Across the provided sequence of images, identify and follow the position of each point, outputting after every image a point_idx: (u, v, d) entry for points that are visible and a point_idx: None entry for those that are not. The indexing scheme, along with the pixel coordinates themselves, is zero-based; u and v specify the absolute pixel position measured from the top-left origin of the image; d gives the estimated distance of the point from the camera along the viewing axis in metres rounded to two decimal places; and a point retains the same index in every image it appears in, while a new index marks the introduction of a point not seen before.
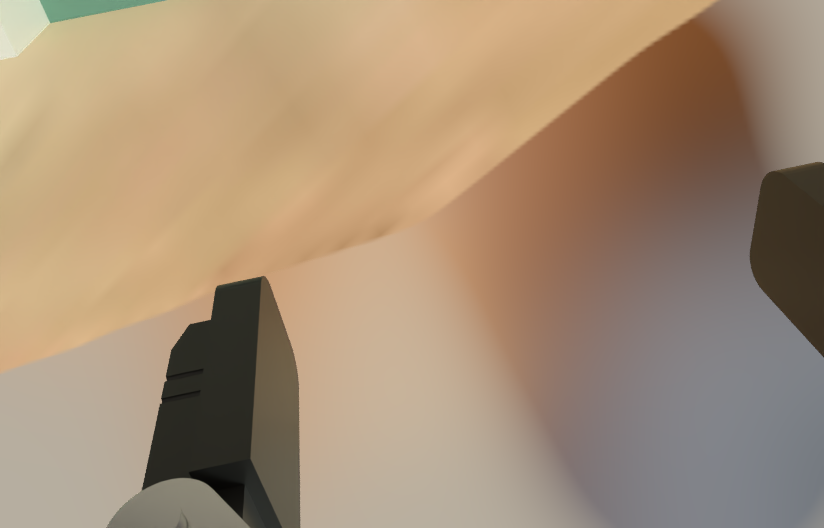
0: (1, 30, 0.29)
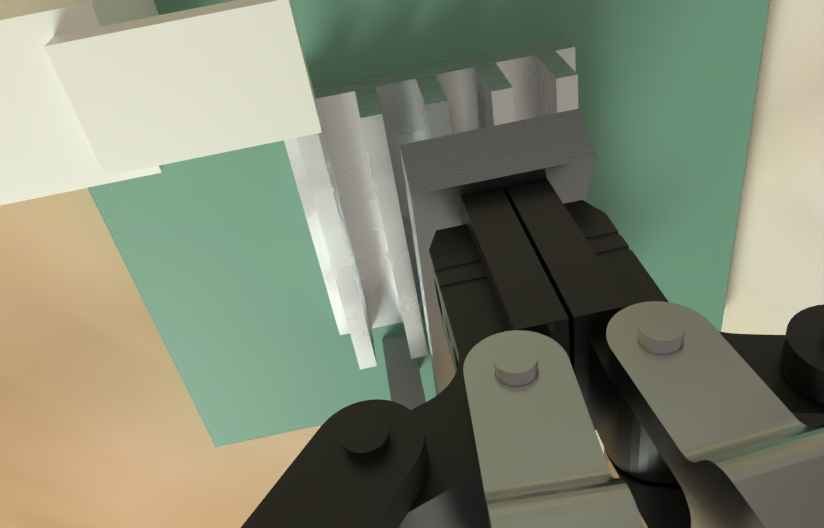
0: (41, 192, 0.16)
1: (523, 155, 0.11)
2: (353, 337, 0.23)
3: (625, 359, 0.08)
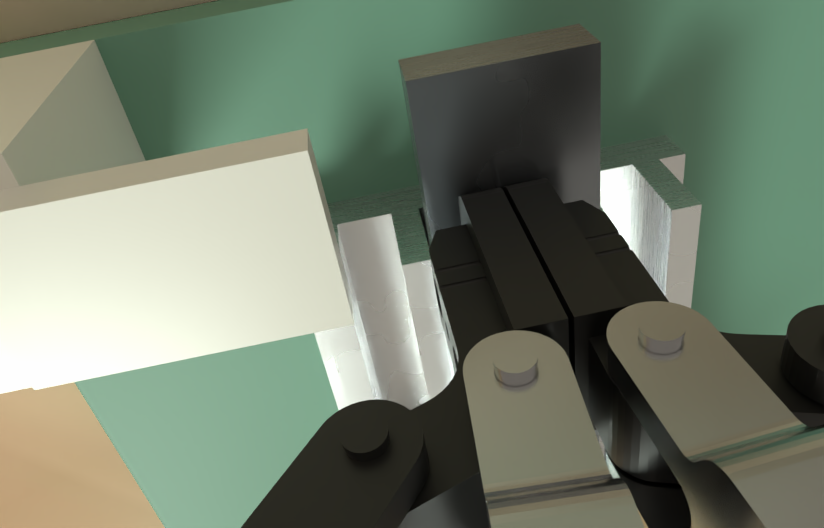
0: None
1: (523, 50, 0.11)
2: None
3: (625, 359, 0.08)
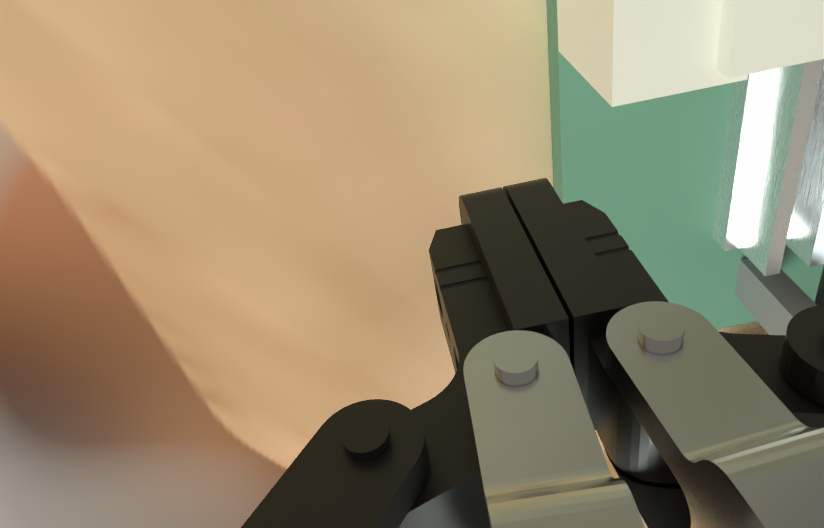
0: (651, 95, 0.20)
1: None
2: (772, 245, 0.26)
3: (625, 359, 0.08)
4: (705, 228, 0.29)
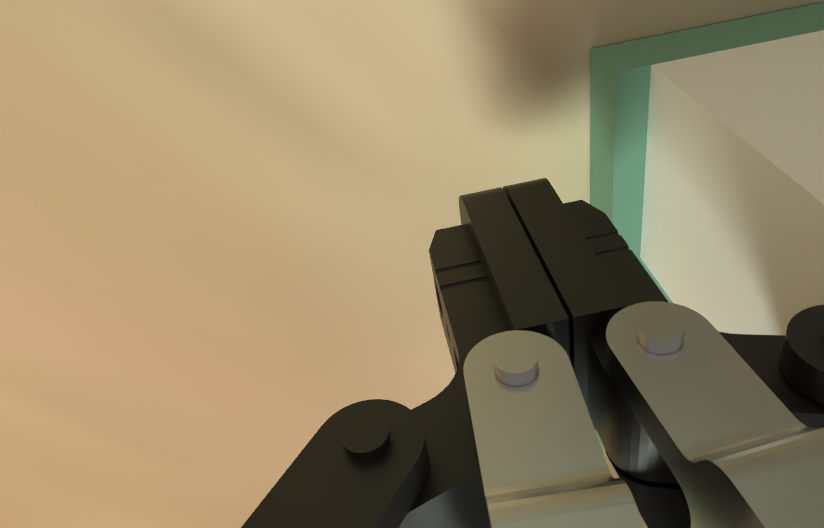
0: None
1: None
2: None
3: (625, 359, 0.08)
4: None
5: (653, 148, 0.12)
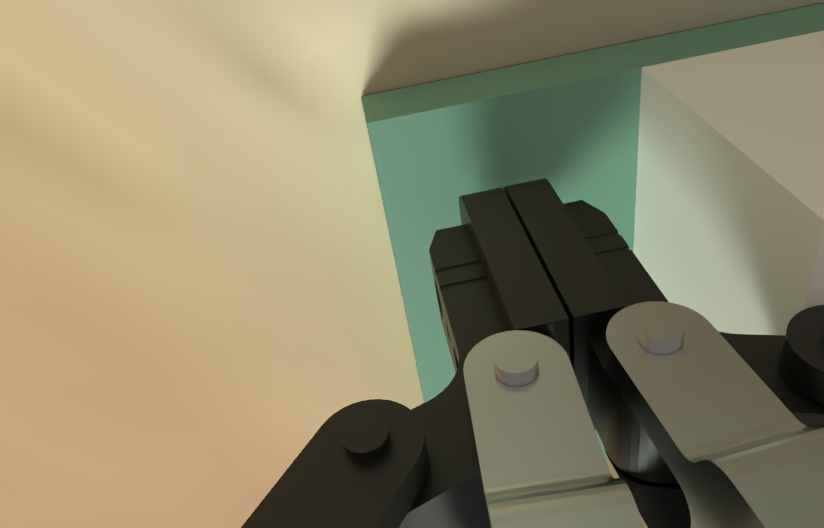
0: None
1: None
2: None
3: (625, 359, 0.08)
4: None
5: (644, 149, 0.12)
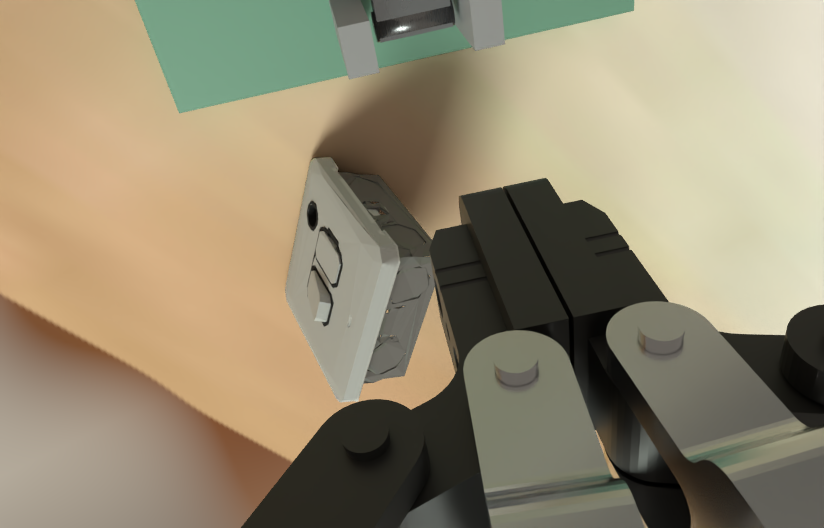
0: None
1: None
2: None
3: (625, 359, 0.08)
4: None
5: None
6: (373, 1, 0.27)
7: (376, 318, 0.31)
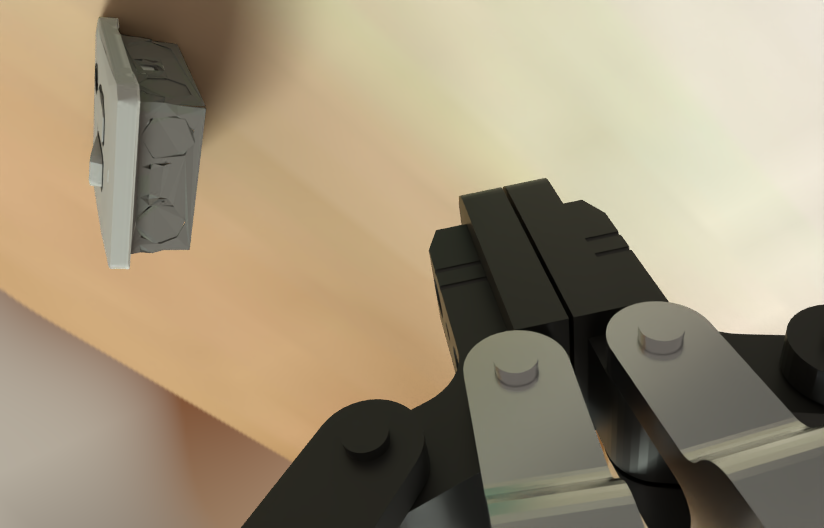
0: None
1: None
2: None
3: (625, 359, 0.08)
4: None
5: None
6: None
7: (126, 168, 0.30)
